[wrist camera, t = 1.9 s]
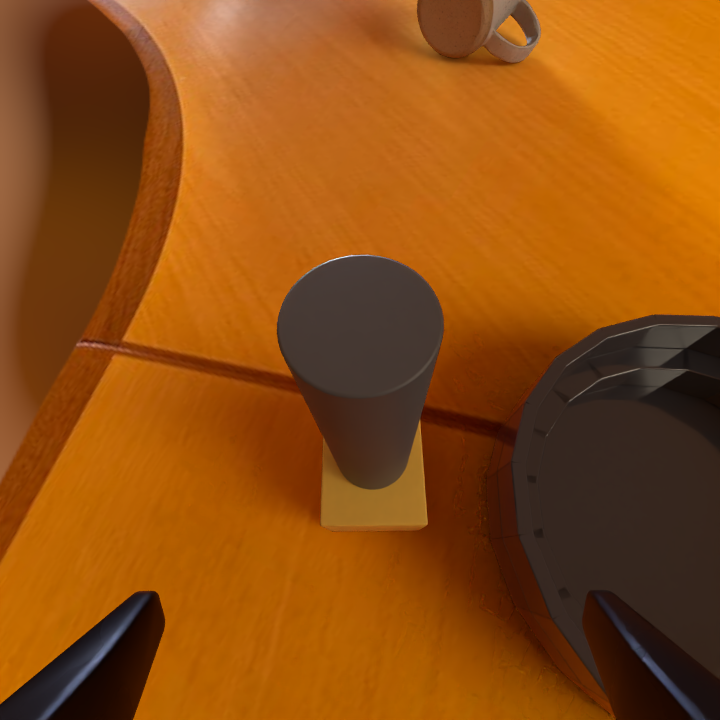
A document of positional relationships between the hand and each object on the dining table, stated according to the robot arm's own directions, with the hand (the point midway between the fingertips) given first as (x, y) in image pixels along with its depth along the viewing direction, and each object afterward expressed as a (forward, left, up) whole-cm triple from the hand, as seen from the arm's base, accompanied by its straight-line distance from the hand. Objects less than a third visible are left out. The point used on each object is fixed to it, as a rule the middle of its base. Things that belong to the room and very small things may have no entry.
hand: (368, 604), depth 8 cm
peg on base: (+5, -1, -12) cm, 13 cm away
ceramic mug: (+41, -21, -12) cm, 48 cm away
